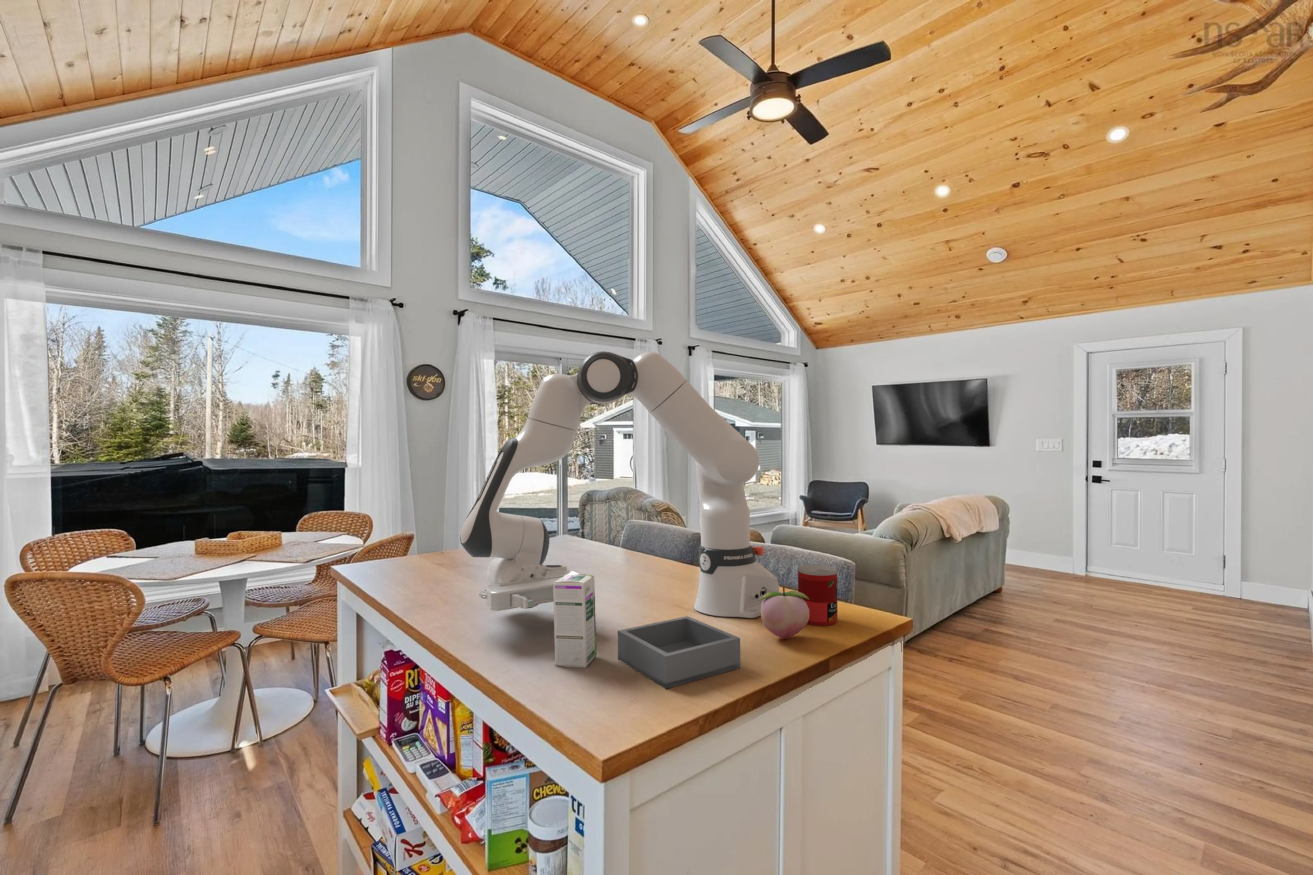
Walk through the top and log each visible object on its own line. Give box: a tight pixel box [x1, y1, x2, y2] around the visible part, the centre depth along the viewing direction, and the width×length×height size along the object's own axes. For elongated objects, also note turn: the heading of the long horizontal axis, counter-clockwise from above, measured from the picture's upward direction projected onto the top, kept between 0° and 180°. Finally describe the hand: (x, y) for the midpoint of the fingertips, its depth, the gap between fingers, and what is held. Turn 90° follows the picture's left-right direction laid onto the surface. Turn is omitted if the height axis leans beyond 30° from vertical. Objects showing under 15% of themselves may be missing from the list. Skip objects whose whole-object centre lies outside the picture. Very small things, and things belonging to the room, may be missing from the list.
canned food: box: [797, 564, 838, 627], centre depth 125 cm, size 8×8×11 cm
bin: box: [617, 615, 741, 690], centre depth 102 cm, size 15×15×5 cm
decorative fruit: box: [759, 586, 809, 640], centre depth 114 cm, size 9×8×10 cm
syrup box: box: [553, 573, 597, 669], centre depth 103 cm, size 6×6×14 cm
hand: (553, 600), depth 112 cm, fingers open, 8 cm apart
